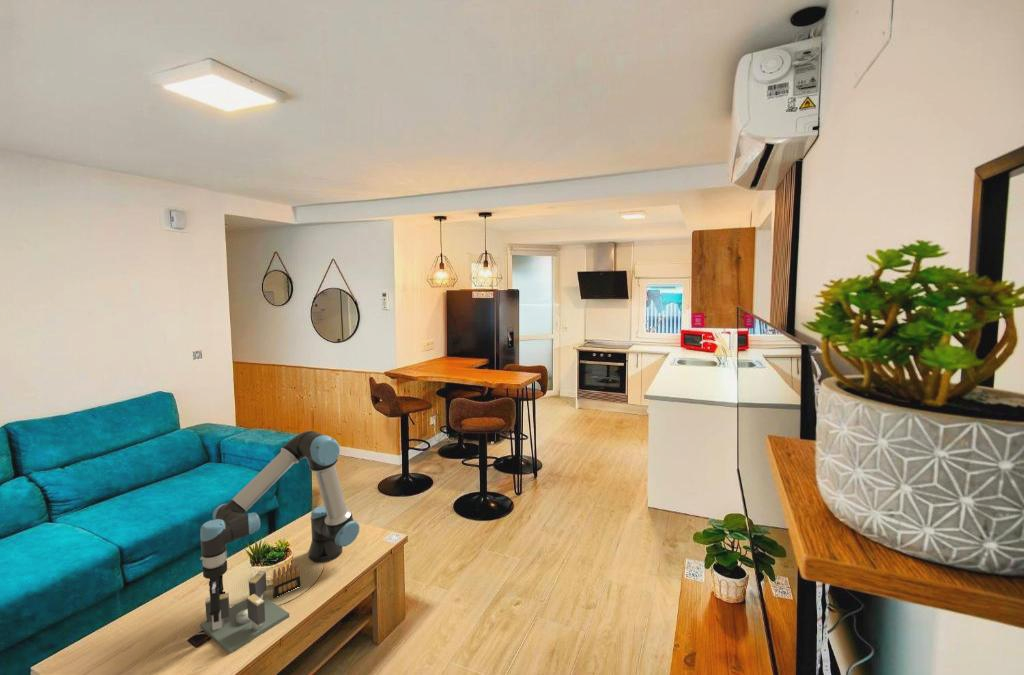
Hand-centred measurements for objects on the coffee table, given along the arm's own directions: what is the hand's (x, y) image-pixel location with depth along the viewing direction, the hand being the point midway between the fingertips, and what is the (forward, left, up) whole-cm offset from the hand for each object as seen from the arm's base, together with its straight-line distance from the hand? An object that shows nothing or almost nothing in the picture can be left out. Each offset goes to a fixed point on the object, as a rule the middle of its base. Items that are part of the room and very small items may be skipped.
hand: (218, 620), depth 172 cm
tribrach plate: (-7, +4, -4) cm, 9 cm away
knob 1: (0, 0, -2) cm, 2 cm away
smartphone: (+1, -1, -4) cm, 5 cm away
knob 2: (-7, +13, -2) cm, 15 cm away
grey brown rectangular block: (-15, 0, -2) cm, 15 cm away
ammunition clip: (-26, 0, -4) cm, 27 cm away
